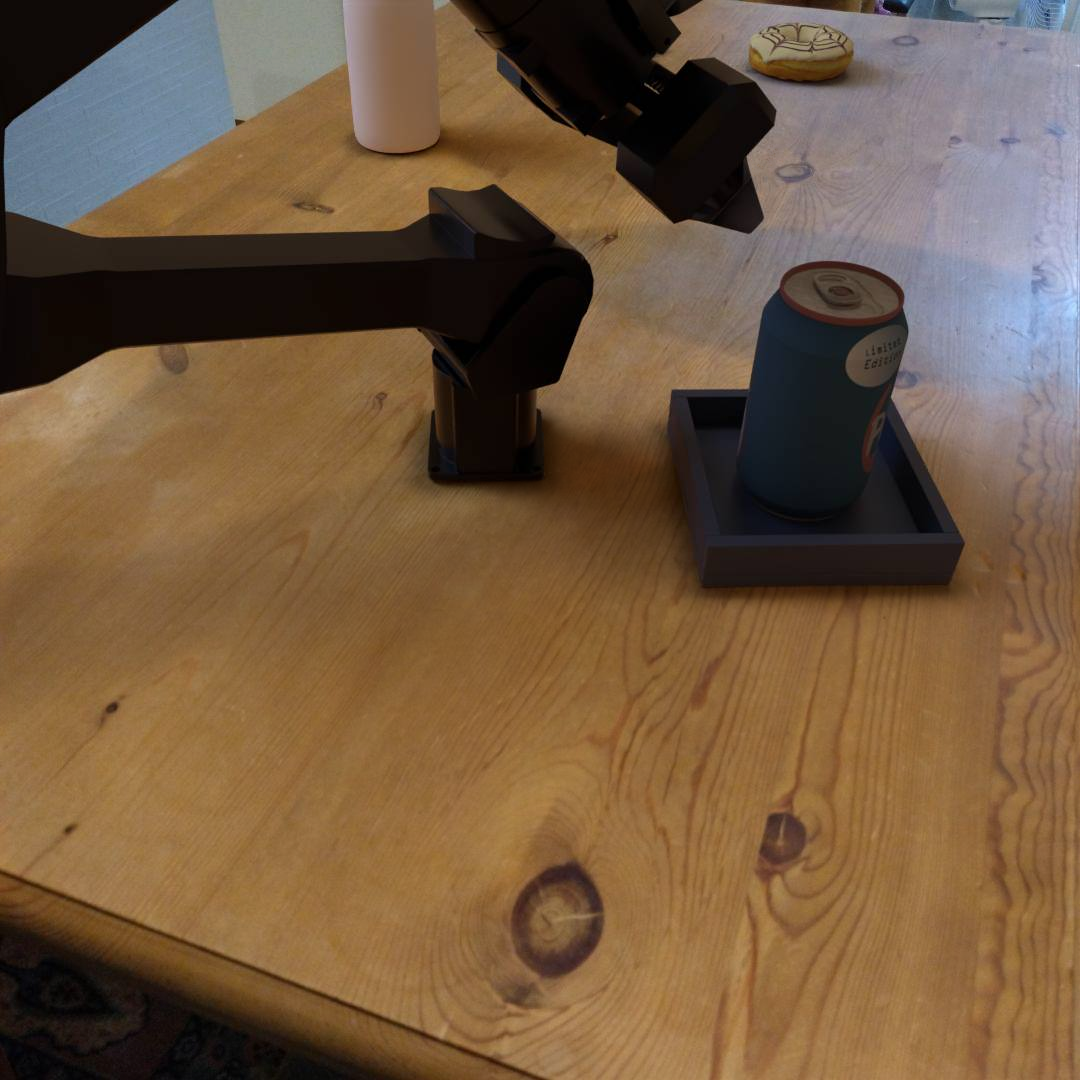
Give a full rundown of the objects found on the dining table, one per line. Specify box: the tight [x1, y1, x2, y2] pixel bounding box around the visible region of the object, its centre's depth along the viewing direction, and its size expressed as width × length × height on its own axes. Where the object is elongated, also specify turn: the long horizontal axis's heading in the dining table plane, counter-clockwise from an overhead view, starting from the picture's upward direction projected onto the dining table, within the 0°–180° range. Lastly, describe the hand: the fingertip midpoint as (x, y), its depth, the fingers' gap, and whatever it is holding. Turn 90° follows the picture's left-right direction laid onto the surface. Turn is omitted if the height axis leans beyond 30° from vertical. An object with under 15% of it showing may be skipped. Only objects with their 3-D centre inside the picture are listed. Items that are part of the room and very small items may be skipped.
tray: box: [666, 388, 966, 588], centre depth 57 cm, size 14×13×3 cm
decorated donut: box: [748, 22, 855, 82], centre depth 111 cm, size 10×11×4 cm
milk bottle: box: [342, 0, 441, 154], centre depth 89 cm, size 8×8×20 cm
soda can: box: [736, 260, 910, 521], centre depth 54 cm, size 7×7×12 cm
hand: (709, 189), depth 56 cm, fingers open, 9 cm apart
